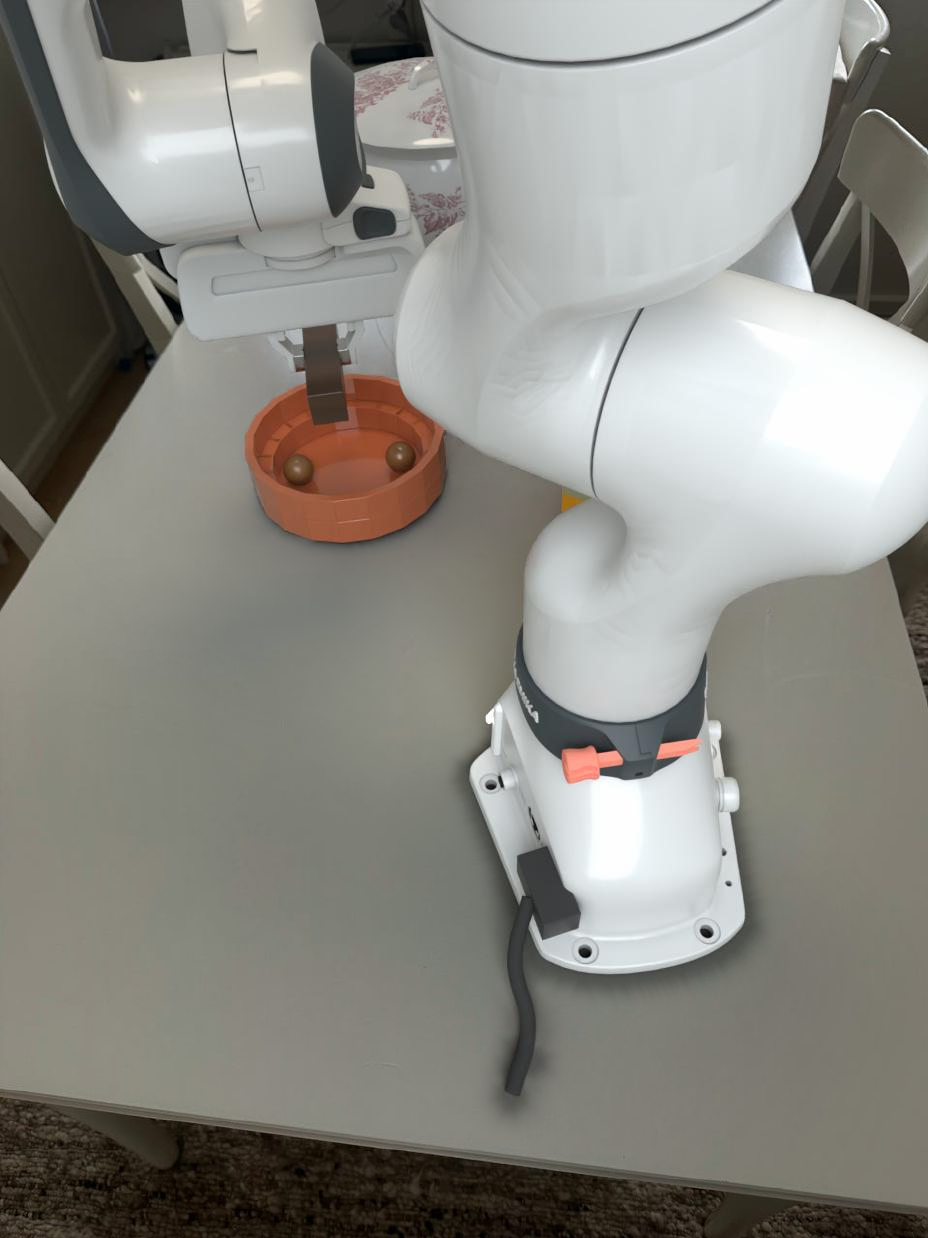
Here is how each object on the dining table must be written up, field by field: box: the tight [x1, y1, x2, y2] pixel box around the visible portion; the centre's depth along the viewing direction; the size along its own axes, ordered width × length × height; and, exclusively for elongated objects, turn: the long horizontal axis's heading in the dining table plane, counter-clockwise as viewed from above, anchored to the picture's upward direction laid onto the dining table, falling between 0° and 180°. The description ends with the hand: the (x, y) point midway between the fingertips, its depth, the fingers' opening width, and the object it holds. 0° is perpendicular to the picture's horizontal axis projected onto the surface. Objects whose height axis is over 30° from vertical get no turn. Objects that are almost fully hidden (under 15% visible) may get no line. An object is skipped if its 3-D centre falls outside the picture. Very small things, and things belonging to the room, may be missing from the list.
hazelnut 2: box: [385, 441, 416, 472], centre depth 84 cm, size 3×3×3 cm
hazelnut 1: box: [283, 454, 314, 485], centre depth 84 cm, size 3×3×3 cm
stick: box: [301, 324, 349, 425], centre depth 75 cm, size 12×3×3 cm, turn 9°
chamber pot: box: [353, 56, 466, 248], centre depth 109 cm, size 28×28×21 cm
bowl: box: [244, 373, 448, 544], centre depth 84 cm, size 19×19×6 cm
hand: (324, 364), depth 75 cm, fingers closed on stick, 3 cm apart
